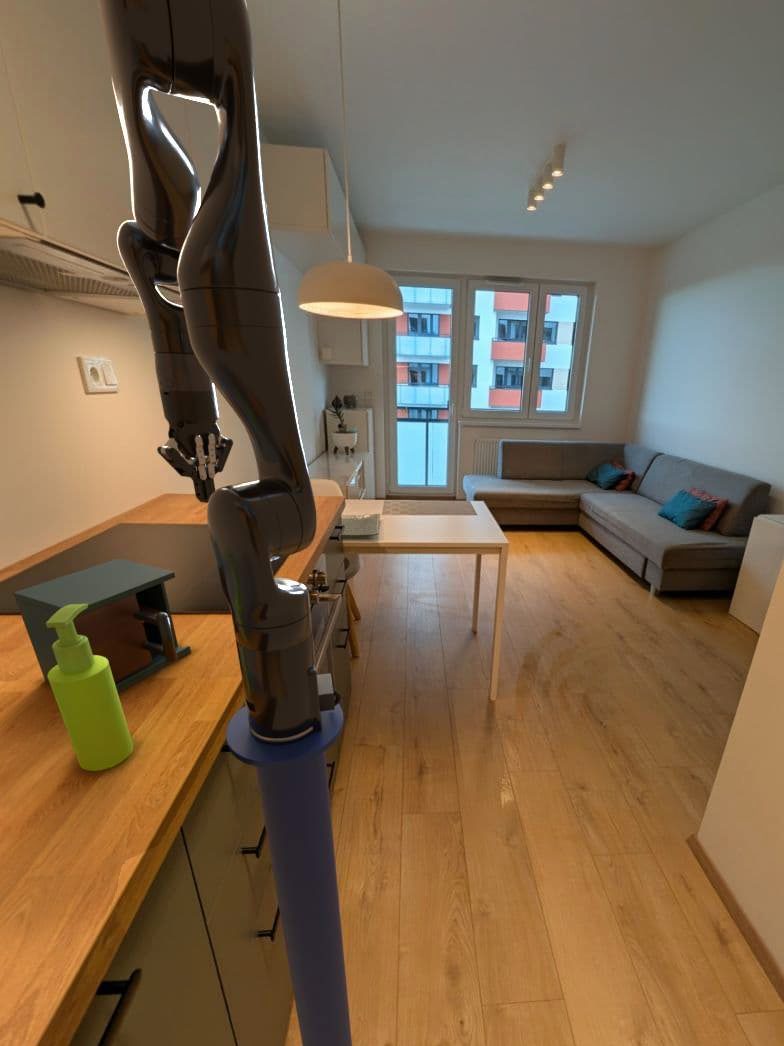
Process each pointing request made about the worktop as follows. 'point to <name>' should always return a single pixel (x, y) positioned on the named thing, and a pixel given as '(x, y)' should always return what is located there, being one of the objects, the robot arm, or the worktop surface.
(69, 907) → the worktop surface
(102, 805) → the worktop surface
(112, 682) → the soap dispenser
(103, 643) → the sliding door
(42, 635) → the cabinet
